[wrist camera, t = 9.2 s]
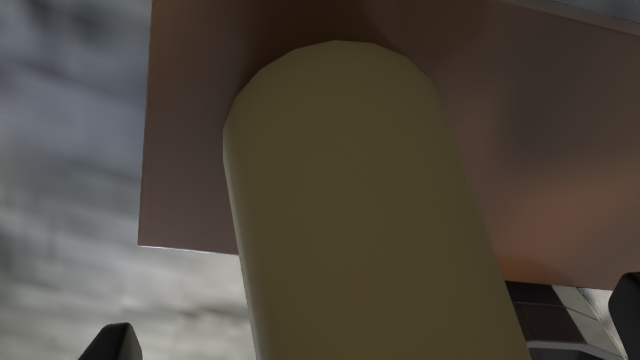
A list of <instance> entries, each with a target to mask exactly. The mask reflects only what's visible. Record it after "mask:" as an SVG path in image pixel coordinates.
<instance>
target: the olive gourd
mask: <svg viewBox="0 0 640 360" xmlns="http://www.w3.org/2000/svg"><path fill="white" fill-rule="evenodd" d="M223 163H224V169H225V175H226V181H227V187H228V192H229V198H230V204H231V210H232V216H233V222H234V228H235V234H236V240H237V246H238V252H239V258H240V264H241V270H242V276H243V282H244V288H245V294H246V299H247V305H248V311H249V317H250V323H251V329H252V335H253V341H254V347H255V353H256V359H257V360H532V359H531V356H530V353H529V350H528V347H527V344H526V341H525V339H524V336H523V333H522V330H521V327H520V324H519V321H518V318H517V315H516V313H515V310H514V307H513V304H512V301H511V298H510V295H509V292H508V290H507V287H506V284H505V281H504V278H503V275H502V272H501V269H500V267H499V264H498V261H497V258H496V255H495V252H494V249H493V246H492V243H491V241H490V238H489V235H488V232H487V229H486V226H485V223H484V220H483V218H482V215H481V212H480V209H479V206H478V203H477V200H476V197H475V194H474V192H473V189H472V186H471V183H470V180H469V177H468V174H467V171H466V169H465V166H464V163H463V160H462V157H461V154H460V151H459V148H458V145H457V143H456V140H455V137H454V134H453V131H452V128H451V125H450V122H449V120H448V117H447V114H446V111H445V108H444V106H443V104H442V102H441V99H440V97H439V95H438V93H437V91H436V89H435V86H434V84H433V82H432V80H431V79H430V78H429V77H428V76H427V75H426V74H425V73H424V72H423V71H421V70H420V69H419V68H418V67H417V66H416V65H415V64H414V63H413V62H412V61H411V60H410V59H409V58H408V57H406V56H403V55H401V54H399V53H396V52H394V51H391V50H389V49H387V48H384V47H382V46H379V45H377V44H375V43H367V42H354V41H340V40H332V41H328V42H324V43H319V44H315V45H311V46H307V47H302V48H298V49H294V50H292V51H291V52H289V53H287V54H286V55H284V56H282V57H280V58H279V59H277V60H275V61H274V62H272V63H270V64H269V65H267V66H265V67H263V68H262V69H260V70H259V71H258V72H257V73H256V75H255V76H254V77H253V78H252V79H251V80H250V81H249V83H248V84H247V85H246V86H245V87H244V88H243V89H242V90H241V92H240V93H239V94H238V95H237V96H236V97H235V100H234V102H233V105H232V107H231V110H230V112H229V115H228V117H227V120H226V122H225V125H224V127H223Z"/></svg>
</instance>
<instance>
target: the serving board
mask: <svg viewBox="0 0 640 360" xmlns="http://www.w3.org/2000/svg"><path fill="white" fill-rule="evenodd" d="M332 40H340V41H354V42H367V43H375V44H377V45H379V46H382V47H384V48H387V49H389V50H391V51H394V52H396V53H399V54H401V55H403V56H406V57H408V58H409V59H410V60H411V61H412V62H413V63H414V64H415V65H416V66H417V67H418V68H419V69H420V70H421V71H423V72H424V73H425V74H426V75H427V76H428V77H429V78H430V79H431V80H432V82H433V84H434V86H435V89H436V91H437V93H438V95H439V97H440V99H441V102H442V104H443V106H444V108H445V111H446V114H447V117H448V120H449V122H450V125H451V128H452V131H453V134H454V137H455V140H456V143H457V145H458V148H459V151H460V154H461V157H462V160H463V163H464V166H465V169H466V171H467V174H468V177H469V180H470V183H471V186H472V189H473V192H474V194H475V197H476V200H477V203H478V206H479V209H480V212H481V215H482V218H483V220H484V223H485V226H486V229H487V232H488V235H489V238H490V241H491V243H492V246H493V249H494V252H495V255H496V258H497V261H498V264H499V267H500V269H501V272H502V275H503V278H504V280H505V281H516V282H526V283H537V284H548V285H558V286H569V287H579V288H590V289H601V290H611V291H614V289H615V287H616V285H617V283H618V281H619V279H620V278H621V276H622V275H623V274H625V273H628V272H638V271H640V23H636V22H632V21H628V20H624V19H620V18H616V17H612V16H608V15H604V14H600V13H596V12H592V11H588V10H584V9H580V8H576V7H572V6H568V5H565V4H561V3H557V2H553V1H549V0H152V11H151V27H150V44H149V61H148V78H147V95H146V111H145V128H144V145H143V162H142V179H141V196H140V212H139V229H138V246H144V247H155V248H165V249H176V250H187V251H197V252H208V253H218V254H229V255H239V252H238V246H237V240H236V234H235V228H234V222H233V216H232V210H231V204H230V198H229V192H228V187H227V181H226V175H225V169H224V163H223V127H224V125H225V122H226V120H227V117H228V115H229V112H230V110H231V107H232V105H233V102H234V100H235V97H236V96H237V95H238V94H239V93H240V92H241V90H242V89H243V88H244V87H245V86H246V85H247V84H248V83H249V81H250V80H251V79H252V78H253V77H254V76H255V75H256V73H257V72H258V71H259V70H260V69H262V68H263V67H265V66H267V65H269V64H270V63H272V62H274V61H275V60H277V59H279V58H280V57H282V56H284V55H286V54H287V53H289V52H291V51H292V50H294V49H298V48H302V47H307V46H311V45H315V44H319V43H324V42H328V41H332Z"/></svg>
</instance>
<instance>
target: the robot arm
mask: <svg viewBox="0 0 640 360" xmlns="http://www.w3.org/2000/svg"><path fill="white" fill-rule="evenodd" d="M608 308H609V313H610V315H611V318H612V320H613V322H614V325H615V327H616V329H617V332H618V334H619V336H620V339H621V341H622V344H623V346H624V348H625V351H626V353H627V355H628V358H629V360H640V271H638V272H628V273H625V274H623V275H622V276H621V278H620V279H619V281H618V283H617V285H616V287H615V289H614V291H613V293H612V295H611V297H610V299H609V302H608ZM78 360H143V357H142V350H141V347H140V345H139V342H138V339H137V337H136V334H135V332H134V329H133V327H132V325H131V324H130V323H116V324H108V325H106V326H105V327H103V328H102V329H101V331H100V332H99V333H98V334H97V336H96V337H95V338H94V340H93V341H92V342H91V344H90V345H89V346H88V347H87V349H86V350H85V351H84V353H83V354H82V355H81V356H80V358H79V359H78Z"/></svg>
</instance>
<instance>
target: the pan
mask: <svg viewBox="0 0 640 360" xmlns="http://www.w3.org/2000/svg"><path fill="white" fill-rule="evenodd" d="M504 281H505V280H504ZM505 284H506V287H507V290H508V292H509V295H510V298H511V301H512V304H513V307H514V310H515V313H516V315H517V318H518V321H519V324H520V327H521V330H522V333H523V336H524V339H525V341H526V344H527V347H528V350H529V353H530V356H531V359H532V360H627V358H626V357H625V355H624V354H623V352H622V351H621V349H620V348H619V346H618V345H617V343H616V342H615V340H614V339H613V337H612V336H611V334H610V333H609V331H608V330H607V328H606V327H605V325H604V324H603V322H602V321H601V319H600V318H599V316H598V315H597V313H596V312H595V311H594V309H593V308H592V307H591V305H590V304H589V303H588V302H587V300H586V299H585V297H584V296H583V295H582V294H581V293H580V292H579V291H578V289H577V288H576V287H569V286H558V285H548V284H537V283H526V282H516V281H505Z"/></svg>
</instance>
